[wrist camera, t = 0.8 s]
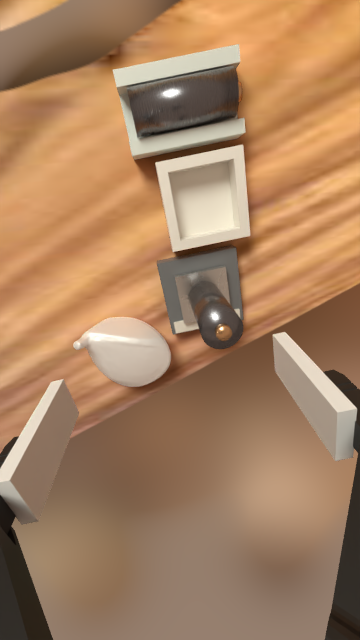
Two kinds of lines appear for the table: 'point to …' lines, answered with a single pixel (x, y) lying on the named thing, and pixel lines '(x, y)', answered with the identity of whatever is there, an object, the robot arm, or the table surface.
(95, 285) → the table surface
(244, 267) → the table surface
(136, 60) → the table surface
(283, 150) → the table surface
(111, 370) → the white rounded lump
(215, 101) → the cell
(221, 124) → the trough
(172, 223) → the white square tray
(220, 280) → the plate
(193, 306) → the cell
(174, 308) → the grey square base pad
